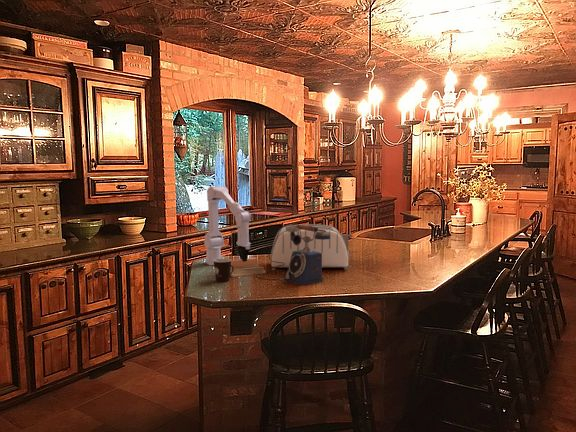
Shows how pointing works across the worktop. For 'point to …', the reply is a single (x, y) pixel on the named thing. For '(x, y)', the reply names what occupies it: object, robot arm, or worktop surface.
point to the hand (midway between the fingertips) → (243, 260)
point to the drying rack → (247, 270)
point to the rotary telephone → (303, 258)
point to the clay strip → (247, 263)
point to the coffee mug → (222, 269)
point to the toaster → (312, 247)
